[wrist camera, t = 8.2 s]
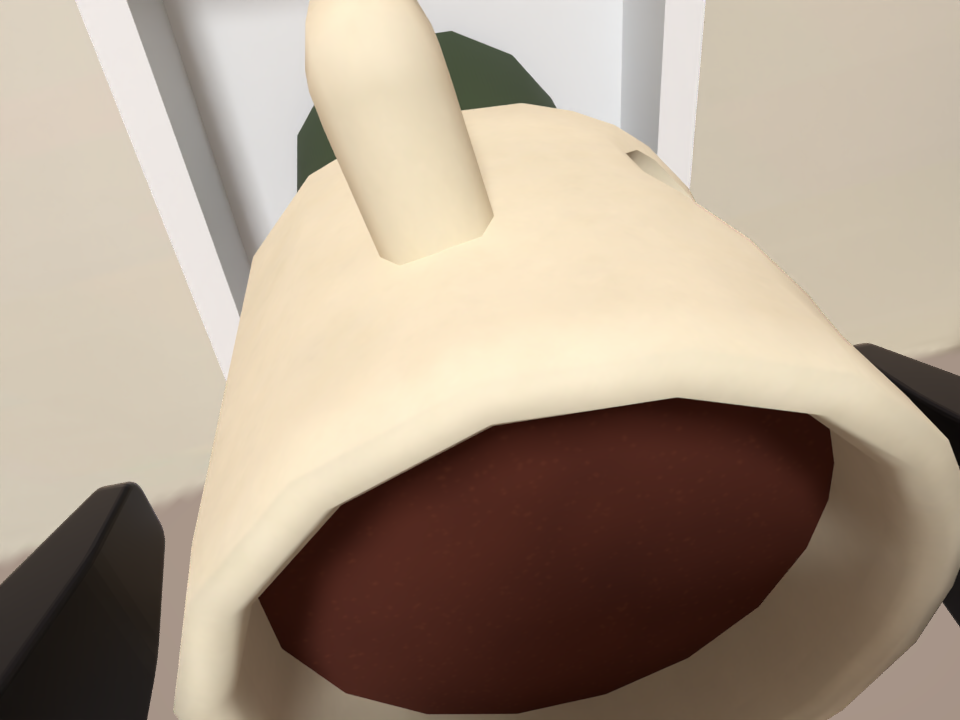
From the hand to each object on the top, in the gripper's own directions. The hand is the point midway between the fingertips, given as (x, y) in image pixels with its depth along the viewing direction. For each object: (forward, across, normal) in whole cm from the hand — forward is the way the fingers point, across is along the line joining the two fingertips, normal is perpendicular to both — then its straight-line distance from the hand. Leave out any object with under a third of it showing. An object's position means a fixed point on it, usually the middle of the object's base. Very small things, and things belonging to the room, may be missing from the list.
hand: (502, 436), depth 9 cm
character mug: (+10, 0, 0) cm, 10 cm away
